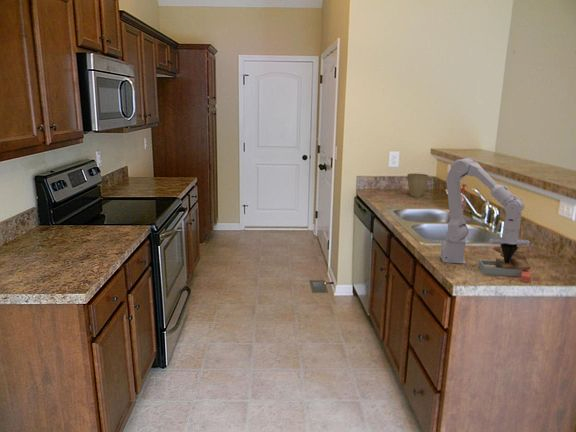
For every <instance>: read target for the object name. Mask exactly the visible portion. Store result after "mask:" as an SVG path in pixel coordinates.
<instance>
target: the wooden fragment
mask: <svg viewBox="0 0 576 432" xmlns="http://www.w3.org/2000/svg"><path fill="white" fill-rule="evenodd" d="M492 249H493V250H495V251H497V252H498V253H500V256H501V257H504V255H503V251H502V248H501V245H499V246H495V247H493V248H492ZM512 257H513V258H514V259H517V260H522V261H524V262H525V263H526V264H527V265H528V266H530V264H529V261H528V260H527V258H526V256H525V255H524V253H523V252H521V251H518V250H516V251H515V252H514V254H513V255H512Z"/></svg>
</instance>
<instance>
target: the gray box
mask: <svg viewBox="0 0 576 432" xmlns="http://www.w3.org/2000/svg"><path fill="white" fill-rule="evenodd" d="M477 268H478V269H479V270H480V271H481V273H482V274H483V275H485V276H486V275H487V276H499V277H500V276H501V277H518V278H521V274H522V269H509V268H502V267H501V266H500V265H499V263H498V262H497V261H496V260H487V259H486V260H485V259H478V262H477Z"/></svg>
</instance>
